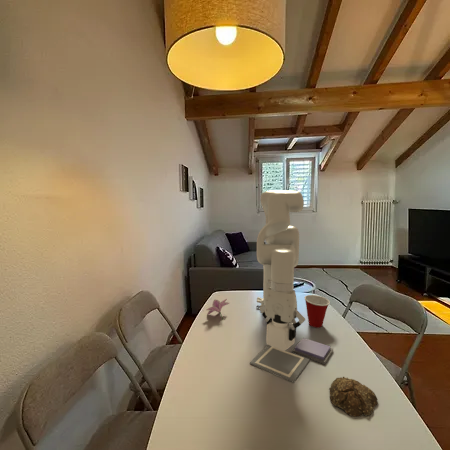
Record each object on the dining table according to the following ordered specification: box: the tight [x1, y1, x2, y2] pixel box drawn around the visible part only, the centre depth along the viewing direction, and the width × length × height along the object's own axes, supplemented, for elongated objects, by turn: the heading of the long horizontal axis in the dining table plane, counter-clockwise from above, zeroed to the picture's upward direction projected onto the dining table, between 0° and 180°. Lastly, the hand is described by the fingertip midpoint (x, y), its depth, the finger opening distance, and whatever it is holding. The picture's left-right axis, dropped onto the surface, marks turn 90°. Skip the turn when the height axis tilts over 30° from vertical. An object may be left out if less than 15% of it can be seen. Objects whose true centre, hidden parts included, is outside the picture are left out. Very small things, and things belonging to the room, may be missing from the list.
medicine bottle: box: [265, 315, 296, 351], centre depth 95 cm, size 7×7×12 cm
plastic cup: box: [304, 294, 331, 329], centre depth 124 cm, size 11×11×12 cm
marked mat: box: [249, 344, 311, 383], centre depth 97 cm, size 16×14×1 cm
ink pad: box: [291, 337, 334, 365], centre depth 103 cm, size 12×10×2 cm
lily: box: [206, 298, 230, 320], centre depth 132 cm, size 12×12×10 cm
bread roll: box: [328, 376, 378, 418], centre depth 80 cm, size 13×12×5 cm
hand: (280, 335), depth 96 cm, fingers closed on medicine bottle, 7 cm apart
